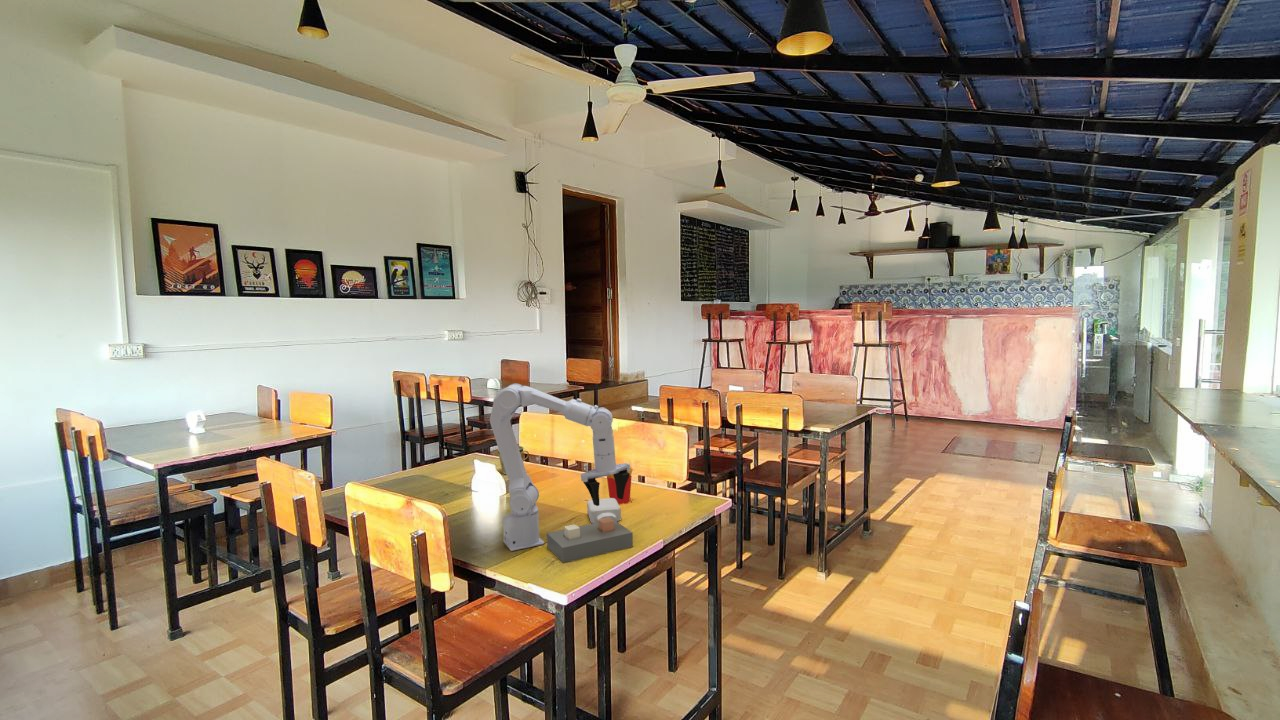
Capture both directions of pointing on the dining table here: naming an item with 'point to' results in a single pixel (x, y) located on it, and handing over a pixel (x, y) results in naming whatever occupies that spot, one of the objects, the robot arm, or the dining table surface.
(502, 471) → the ceramic cup
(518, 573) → the dining table surface
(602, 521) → the terracotta key
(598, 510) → the charger
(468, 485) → the dining table surface
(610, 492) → the french fries
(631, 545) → the key box
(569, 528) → the offwhite key
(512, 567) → the dining table surface
